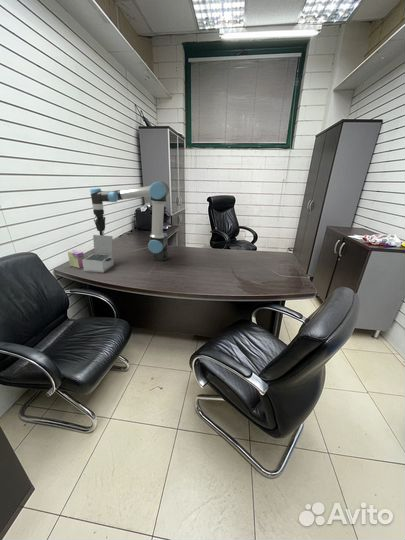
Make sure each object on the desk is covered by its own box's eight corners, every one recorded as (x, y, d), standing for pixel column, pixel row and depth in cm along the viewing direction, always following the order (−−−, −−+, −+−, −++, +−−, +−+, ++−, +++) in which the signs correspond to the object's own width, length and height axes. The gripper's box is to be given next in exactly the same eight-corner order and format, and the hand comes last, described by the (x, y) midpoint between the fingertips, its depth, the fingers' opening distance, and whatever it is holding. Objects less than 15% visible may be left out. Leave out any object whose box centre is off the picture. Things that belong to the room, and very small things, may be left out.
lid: (112, 255, 175) (114, 254, 178) (111, 236, 172) (113, 236, 174) (94, 253, 177) (96, 253, 179) (93, 234, 173) (95, 234, 176)
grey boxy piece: (116, 265, 178) (114, 255, 175) (106, 273, 164) (104, 261, 161) (93, 263, 180) (91, 253, 177) (81, 270, 167) (79, 259, 163)
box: (85, 265, 176) (83, 251, 171) (79, 268, 171) (76, 253, 166) (76, 263, 180) (73, 249, 175) (70, 265, 175) (67, 251, 170)
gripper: (98, 207, 177) (102, 236, 187) (88, 209, 166) (93, 240, 175) (107, 208, 177) (111, 237, 186) (97, 210, 165) (102, 240, 174)
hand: (102, 238), depth 180 cm, fingers closed
